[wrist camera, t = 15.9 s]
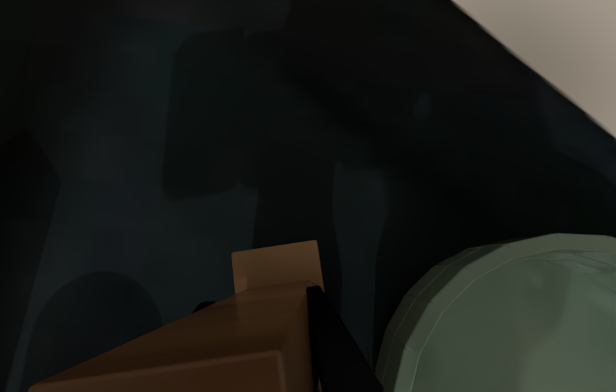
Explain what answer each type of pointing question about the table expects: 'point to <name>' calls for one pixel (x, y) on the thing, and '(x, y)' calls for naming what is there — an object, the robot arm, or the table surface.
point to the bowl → (509, 320)
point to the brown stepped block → (221, 337)
